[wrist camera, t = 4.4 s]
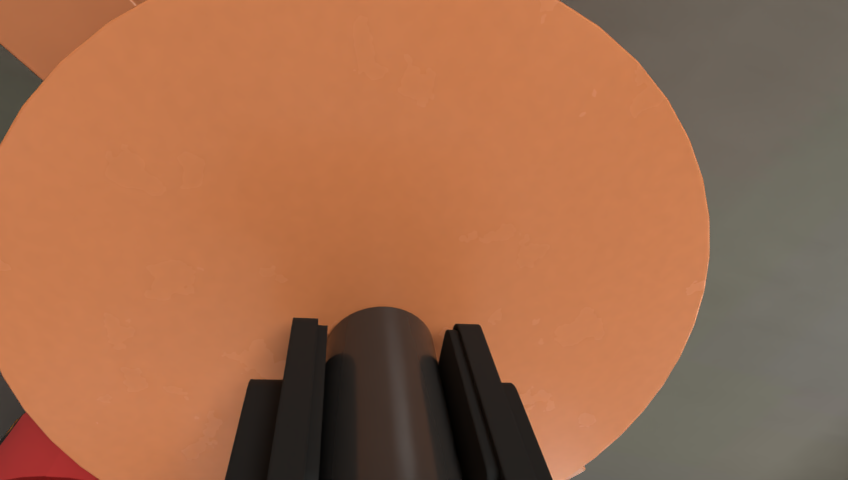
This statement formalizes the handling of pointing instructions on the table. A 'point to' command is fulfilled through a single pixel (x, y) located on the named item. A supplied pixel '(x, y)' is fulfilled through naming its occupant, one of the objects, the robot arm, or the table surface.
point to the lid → (343, 229)
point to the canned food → (35, 455)
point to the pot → (59, 32)
